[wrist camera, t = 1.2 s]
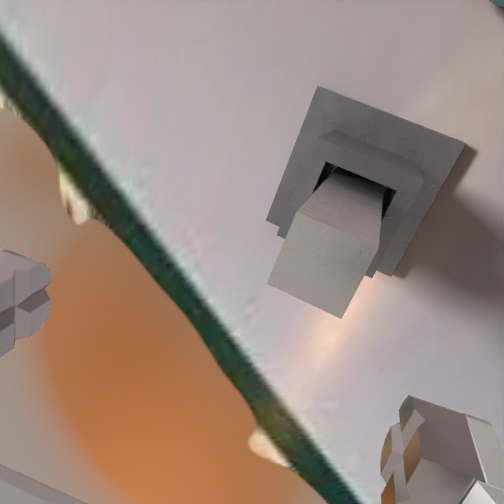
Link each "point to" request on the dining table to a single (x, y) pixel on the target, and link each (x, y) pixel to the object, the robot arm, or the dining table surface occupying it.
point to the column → (331, 242)
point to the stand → (367, 167)
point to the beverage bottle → (498, 2)
